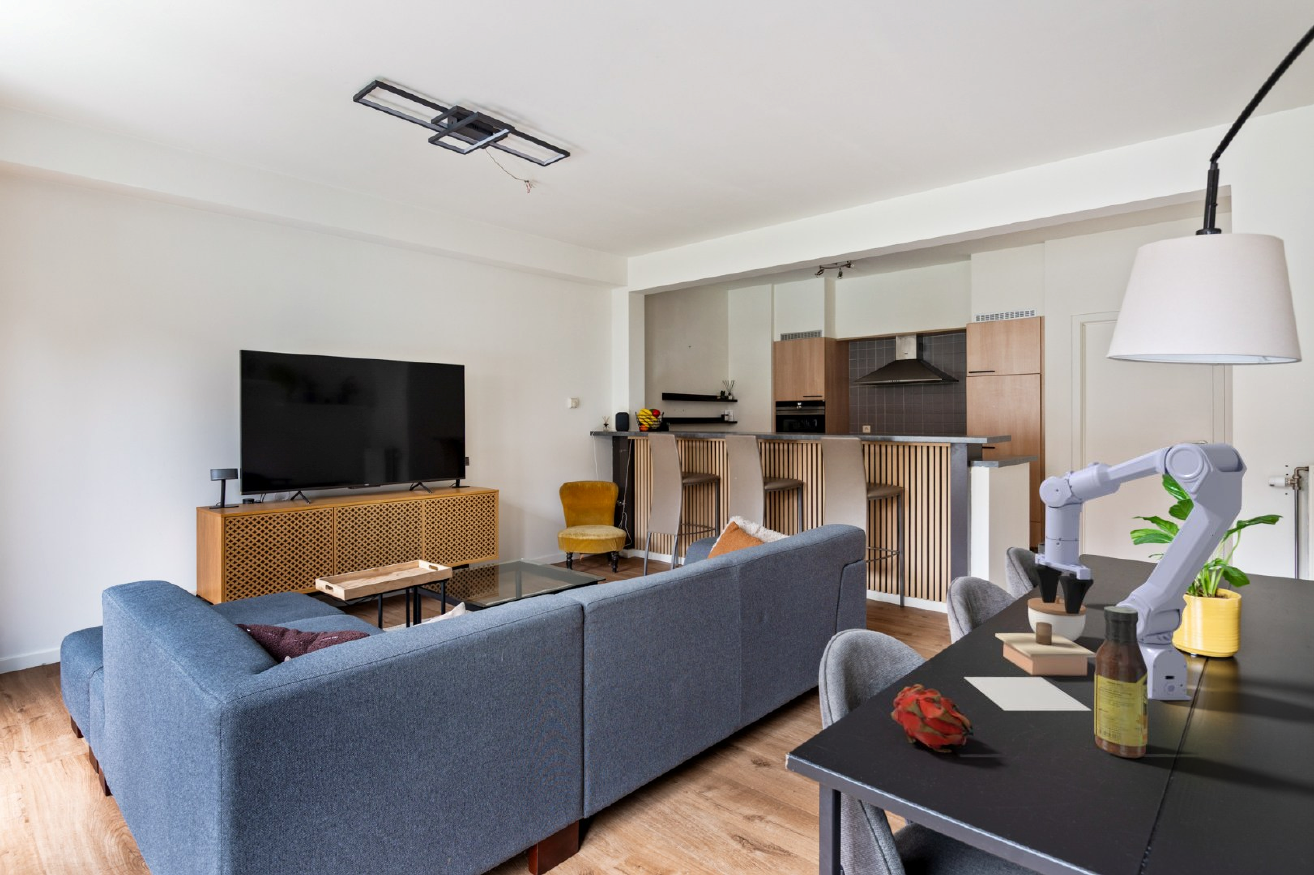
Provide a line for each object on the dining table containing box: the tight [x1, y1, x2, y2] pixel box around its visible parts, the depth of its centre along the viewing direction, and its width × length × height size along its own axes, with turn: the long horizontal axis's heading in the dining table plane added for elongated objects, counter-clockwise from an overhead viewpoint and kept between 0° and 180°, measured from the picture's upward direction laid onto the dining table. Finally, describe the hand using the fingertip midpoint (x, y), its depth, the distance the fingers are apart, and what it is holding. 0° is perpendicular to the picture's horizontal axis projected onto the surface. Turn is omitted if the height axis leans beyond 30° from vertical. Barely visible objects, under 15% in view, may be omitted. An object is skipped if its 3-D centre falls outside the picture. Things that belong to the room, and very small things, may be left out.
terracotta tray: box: [1002, 641, 1088, 677], centre depth 130 cm, size 10×10×4 cm
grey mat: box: [963, 676, 1092, 712], centre depth 116 cm, size 14×14×1 cm
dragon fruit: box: [889, 683, 975, 754], centre depth 99 cm, size 8×8×12 cm
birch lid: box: [994, 622, 1096, 658], centre depth 130 cm, size 12×12×4 cm
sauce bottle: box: [1093, 605, 1149, 759], centre depth 97 cm, size 7×6×20 cm
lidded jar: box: [1027, 595, 1087, 642], centre depth 146 cm, size 11×11×9 cm
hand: (1060, 607), depth 135 cm, fingers open, 7 cm apart
